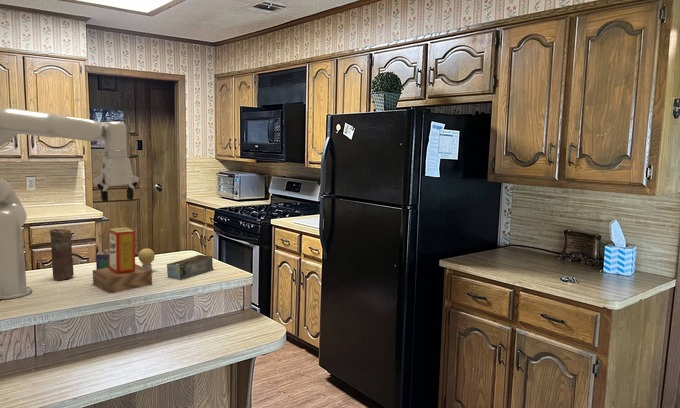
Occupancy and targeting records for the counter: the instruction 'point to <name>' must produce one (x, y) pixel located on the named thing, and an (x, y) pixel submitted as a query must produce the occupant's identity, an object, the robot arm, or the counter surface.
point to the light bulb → (146, 258)
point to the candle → (61, 254)
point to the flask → (102, 260)
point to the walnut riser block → (122, 279)
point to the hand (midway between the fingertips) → (117, 200)
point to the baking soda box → (121, 250)
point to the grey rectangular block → (189, 267)
